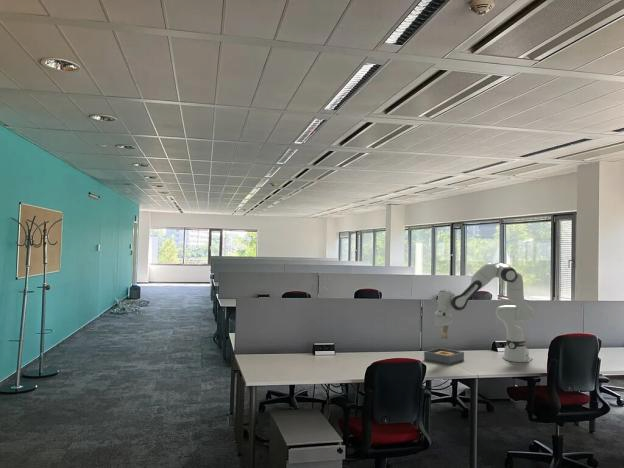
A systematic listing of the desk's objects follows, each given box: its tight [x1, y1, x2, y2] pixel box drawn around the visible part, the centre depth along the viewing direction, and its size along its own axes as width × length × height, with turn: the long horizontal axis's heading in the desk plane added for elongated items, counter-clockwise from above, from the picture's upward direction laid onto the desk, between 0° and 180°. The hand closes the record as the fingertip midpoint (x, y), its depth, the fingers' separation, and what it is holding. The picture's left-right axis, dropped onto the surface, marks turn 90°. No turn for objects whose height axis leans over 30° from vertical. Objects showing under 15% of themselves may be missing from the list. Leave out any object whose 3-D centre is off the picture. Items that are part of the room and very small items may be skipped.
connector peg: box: [440, 325, 448, 339], centre depth 330 cm, size 4×4×9 cm
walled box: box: [423, 347, 465, 366], centre depth 330 cm, size 20×20×6 cm
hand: (444, 332), depth 330 cm, fingers closed on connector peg, 4 cm apart
